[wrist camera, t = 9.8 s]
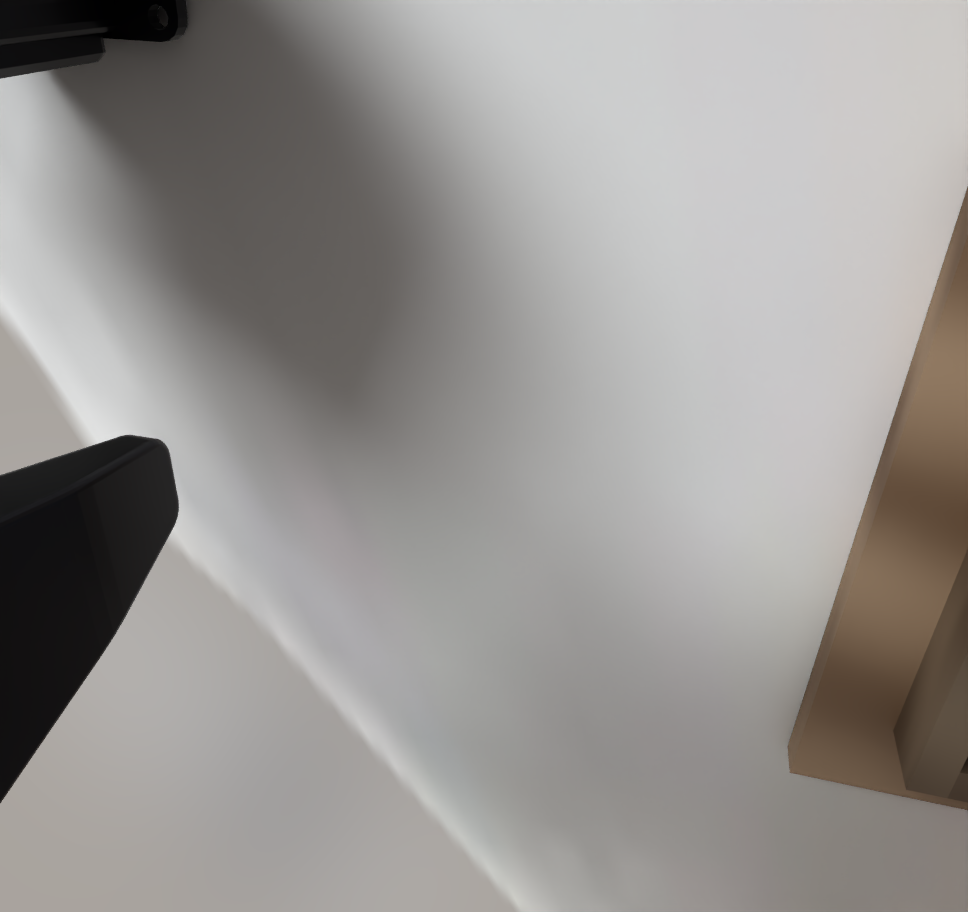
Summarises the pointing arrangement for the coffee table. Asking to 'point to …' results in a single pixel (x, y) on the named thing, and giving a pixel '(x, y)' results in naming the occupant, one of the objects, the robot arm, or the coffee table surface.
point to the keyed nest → (905, 588)
